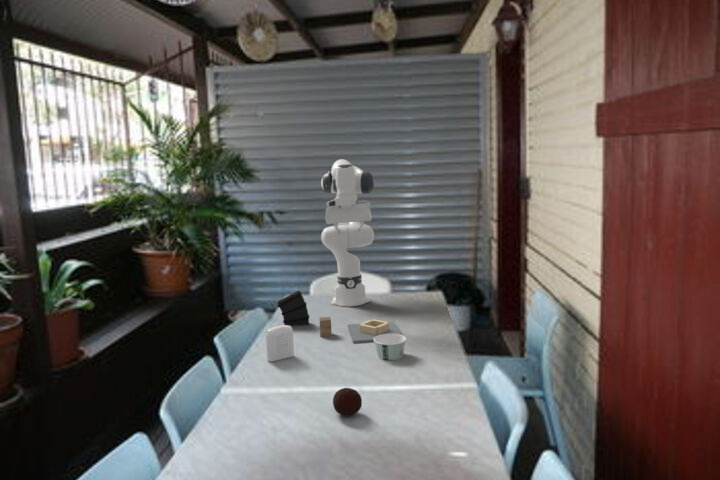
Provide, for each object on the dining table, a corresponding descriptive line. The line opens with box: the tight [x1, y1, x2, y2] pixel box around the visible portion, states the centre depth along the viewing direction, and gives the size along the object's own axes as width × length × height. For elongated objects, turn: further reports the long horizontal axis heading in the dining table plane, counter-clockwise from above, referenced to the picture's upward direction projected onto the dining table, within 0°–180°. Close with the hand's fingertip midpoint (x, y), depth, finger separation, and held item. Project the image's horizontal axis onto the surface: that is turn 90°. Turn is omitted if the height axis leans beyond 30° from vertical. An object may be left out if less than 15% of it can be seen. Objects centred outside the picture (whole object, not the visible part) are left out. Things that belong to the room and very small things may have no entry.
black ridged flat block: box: [276, 290, 310, 327], centre depth 258 cm, size 4×13×15 cm, turn 92°
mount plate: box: [347, 318, 402, 344], centre depth 242 cm, size 22×20×4 cm
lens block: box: [319, 316, 333, 338], centre depth 242 cm, size 4×4×7 cm
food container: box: [373, 334, 407, 361], centre depth 214 cm, size 12×12×6 cm
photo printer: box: [265, 324, 295, 362], centre depth 216 cm, size 10×4×12 cm, turn 123°
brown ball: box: [332, 387, 363, 417], centre depth 168 cm, size 8×9×8 cm
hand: (349, 233), depth 255 cm, fingers open, 8 cm apart
